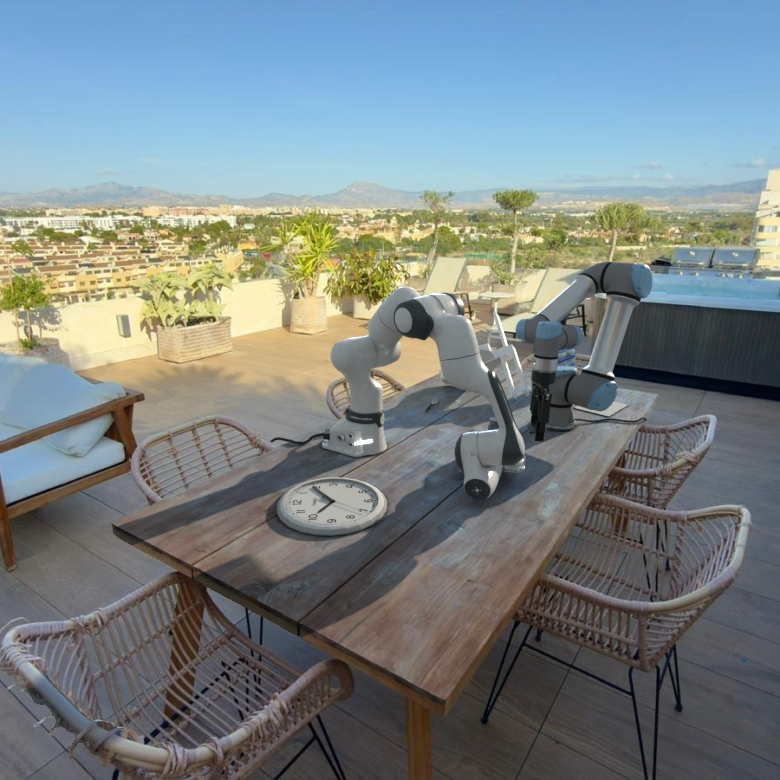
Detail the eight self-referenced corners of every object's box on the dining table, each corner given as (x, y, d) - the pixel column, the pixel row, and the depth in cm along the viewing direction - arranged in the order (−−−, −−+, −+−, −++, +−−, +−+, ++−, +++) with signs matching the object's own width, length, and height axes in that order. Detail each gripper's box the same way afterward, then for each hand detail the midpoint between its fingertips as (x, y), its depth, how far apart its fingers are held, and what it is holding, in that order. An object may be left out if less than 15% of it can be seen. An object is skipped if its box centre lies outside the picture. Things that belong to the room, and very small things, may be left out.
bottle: (482, 469, 166) (486, 420, 161) (487, 463, 170) (491, 415, 165) (499, 473, 163) (503, 423, 158) (503, 466, 168) (508, 418, 163)
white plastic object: (461, 429, 252) (437, 405, 227) (444, 352, 274) (420, 323, 250) (535, 404, 240) (518, 377, 215) (510, 326, 262) (492, 293, 237)
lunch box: (547, 397, 237) (552, 352, 231) (526, 391, 245) (531, 348, 238) (574, 386, 255) (580, 344, 249) (554, 381, 262) (559, 340, 256)
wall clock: (392, 527, 129) (268, 531, 127) (391, 533, 130) (269, 537, 127) (383, 473, 158) (282, 475, 155) (383, 478, 158) (282, 480, 156)
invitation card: (608, 416, 214) (573, 407, 224) (608, 416, 214) (573, 408, 224) (628, 404, 229) (594, 396, 238) (628, 405, 229) (594, 397, 238)
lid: (549, 433, 171) (550, 428, 170) (530, 433, 171) (531, 428, 170) (543, 427, 177) (543, 421, 176) (525, 426, 177) (525, 421, 176)
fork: (422, 411, 216) (422, 407, 215) (433, 400, 230) (433, 396, 230) (428, 412, 215) (429, 407, 215) (438, 401, 230) (439, 396, 229)
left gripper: (524, 462, 149) (529, 444, 161) (454, 450, 155) (464, 434, 168) (522, 482, 151) (527, 462, 163) (453, 470, 157) (463, 452, 170)
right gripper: (524, 362, 177) (518, 426, 183) (541, 377, 159) (532, 448, 165) (547, 363, 177) (539, 427, 184) (565, 378, 159) (556, 448, 165)
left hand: (495, 448), depth 165 cm, fingers closed on bottle, 5 cm apart
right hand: (536, 437), depth 174 cm, fingers closed on lid, 6 cm apart
